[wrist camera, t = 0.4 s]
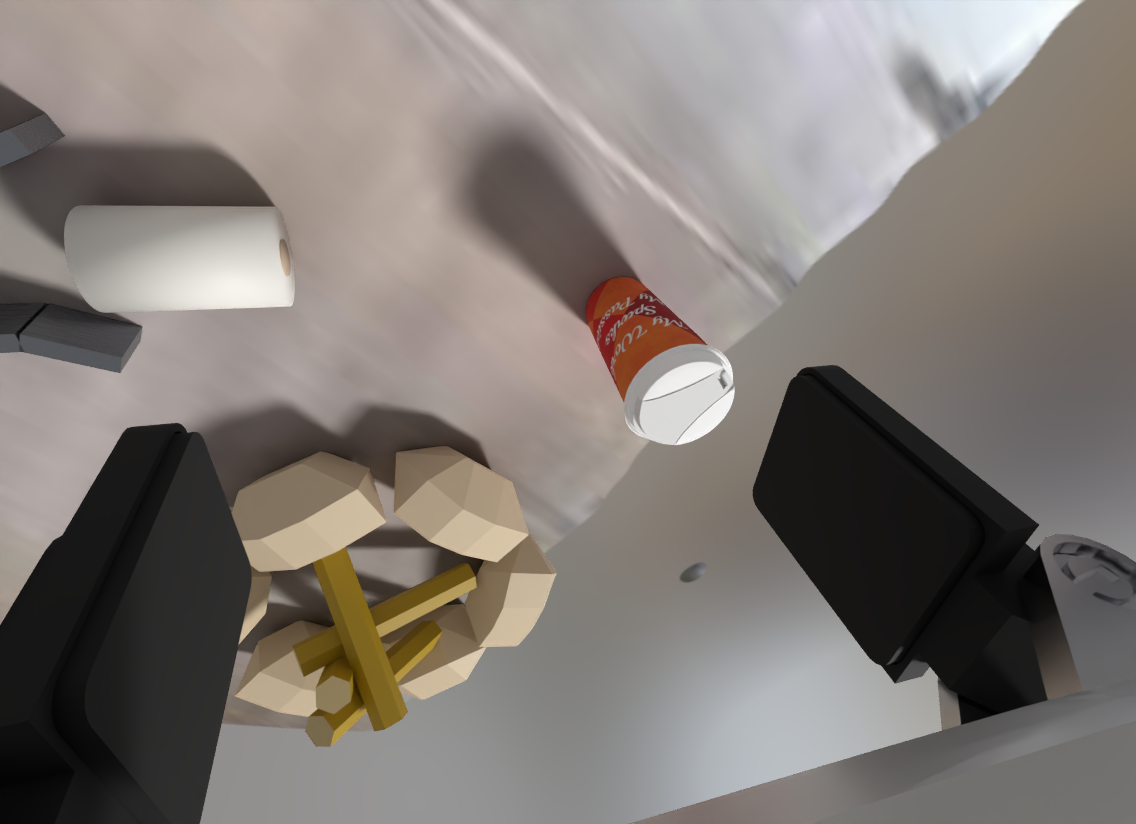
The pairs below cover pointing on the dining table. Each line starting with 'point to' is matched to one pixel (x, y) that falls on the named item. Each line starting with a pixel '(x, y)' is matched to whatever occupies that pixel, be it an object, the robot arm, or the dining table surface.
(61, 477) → the dining table surface
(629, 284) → the paper cup
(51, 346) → the holder
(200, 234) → the roll
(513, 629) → the campfire
